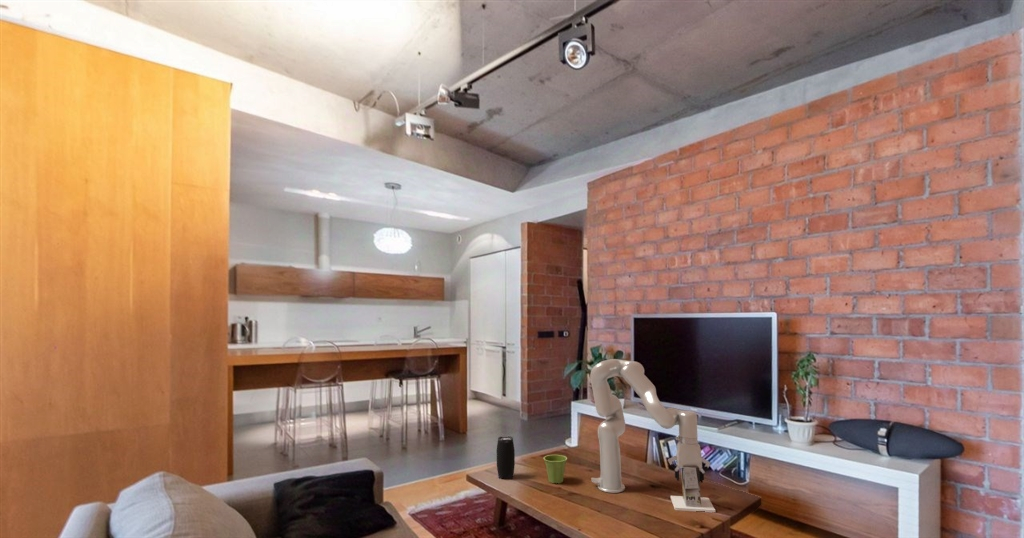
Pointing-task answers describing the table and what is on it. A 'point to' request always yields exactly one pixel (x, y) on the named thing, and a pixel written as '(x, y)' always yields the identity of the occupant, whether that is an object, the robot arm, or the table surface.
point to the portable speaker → (505, 457)
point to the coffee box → (691, 486)
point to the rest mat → (680, 505)
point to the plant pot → (555, 467)
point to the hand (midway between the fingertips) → (689, 480)
